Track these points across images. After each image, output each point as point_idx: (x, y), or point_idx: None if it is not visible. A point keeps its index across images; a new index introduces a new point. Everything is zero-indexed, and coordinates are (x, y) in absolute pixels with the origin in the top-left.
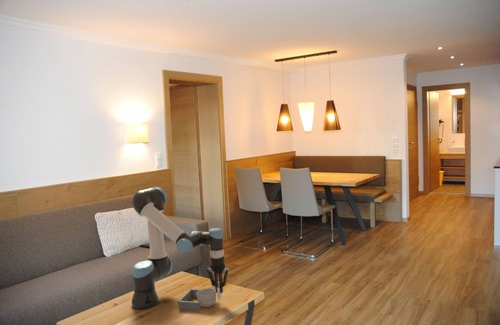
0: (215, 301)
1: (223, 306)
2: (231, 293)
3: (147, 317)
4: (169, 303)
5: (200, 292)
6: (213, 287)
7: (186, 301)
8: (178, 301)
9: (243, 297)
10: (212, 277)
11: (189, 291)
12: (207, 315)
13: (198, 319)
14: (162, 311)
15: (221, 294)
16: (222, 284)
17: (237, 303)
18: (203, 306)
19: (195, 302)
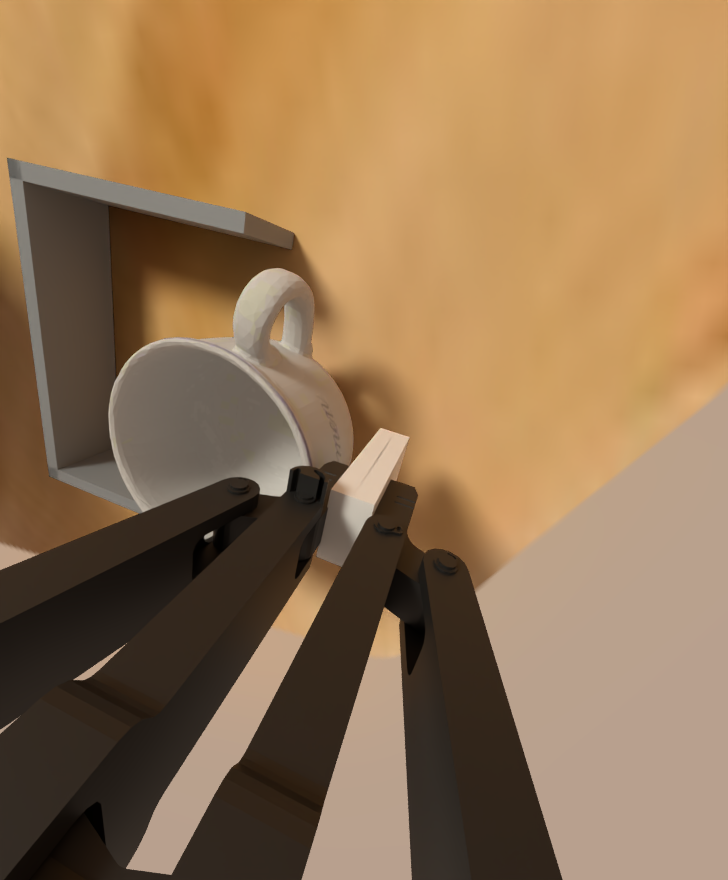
0: (350, 461)
1: (436, 466)
2: (546, 66)
3: (12, 520)
4: (14, 340)
5: (148, 380)
6: (259, 321)
7: (109, 494)
8: (54, 477)
9: (719, 240)
10: (106, 625)
11: (31, 244)
12: (323, 585)
13: (277, 618)
14: (40, 463)
15: (402, 450)
16: (398, 616)
17: (593, 423)
18: (264, 476)
19: None
